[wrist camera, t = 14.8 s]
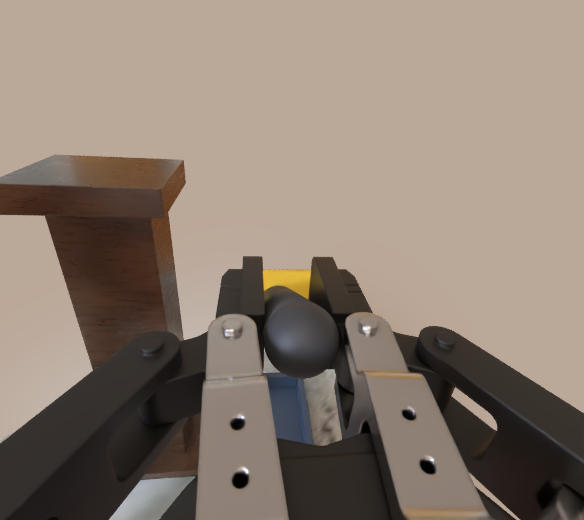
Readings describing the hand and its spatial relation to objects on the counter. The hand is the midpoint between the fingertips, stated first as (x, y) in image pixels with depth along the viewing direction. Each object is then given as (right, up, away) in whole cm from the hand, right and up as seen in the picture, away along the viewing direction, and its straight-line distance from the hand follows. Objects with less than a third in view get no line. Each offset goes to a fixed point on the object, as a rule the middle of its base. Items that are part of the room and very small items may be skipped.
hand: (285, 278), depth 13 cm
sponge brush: (0, -3, +3) cm, 4 cm away
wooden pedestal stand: (-15, -21, +26) cm, 37 cm away
